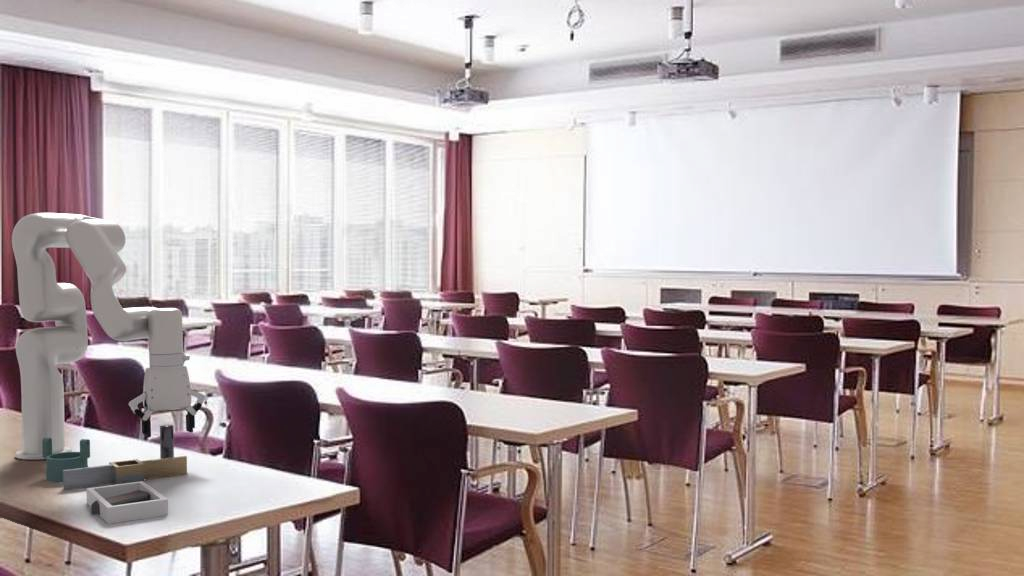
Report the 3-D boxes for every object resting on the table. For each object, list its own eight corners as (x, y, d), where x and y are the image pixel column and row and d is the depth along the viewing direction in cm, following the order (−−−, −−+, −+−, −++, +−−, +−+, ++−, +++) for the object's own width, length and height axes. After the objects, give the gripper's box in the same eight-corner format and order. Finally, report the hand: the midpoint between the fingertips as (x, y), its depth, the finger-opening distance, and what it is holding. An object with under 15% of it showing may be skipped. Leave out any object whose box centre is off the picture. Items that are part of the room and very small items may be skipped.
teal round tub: (91, 479, 221) (90, 439, 221) (45, 484, 217) (45, 443, 216) (85, 472, 229) (85, 433, 229) (41, 476, 224) (41, 436, 224)
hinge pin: (158, 467, 233) (158, 425, 232) (171, 466, 235) (171, 424, 234) (162, 470, 230) (162, 427, 230) (175, 468, 232) (175, 426, 232)
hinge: (66, 492, 210) (66, 473, 210) (60, 486, 215) (60, 468, 214) (190, 476, 225) (190, 458, 224) (182, 471, 230) (182, 453, 229)
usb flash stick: (90, 513, 193) (90, 499, 193) (144, 500, 203) (144, 487, 203) (106, 517, 190) (106, 503, 190) (160, 504, 200) (160, 490, 200)
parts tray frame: (86, 503, 201) (86, 488, 201) (142, 495, 207) (142, 481, 207) (108, 523, 186) (107, 507, 186) (167, 514, 192) (167, 499, 192)
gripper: (198, 357, 239) (200, 427, 240) (123, 362, 229) (126, 436, 230) (208, 359, 233) (210, 432, 234) (132, 365, 223) (134, 441, 224)
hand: (168, 434), depth 232 cm, fingers open, 9 cm apart
